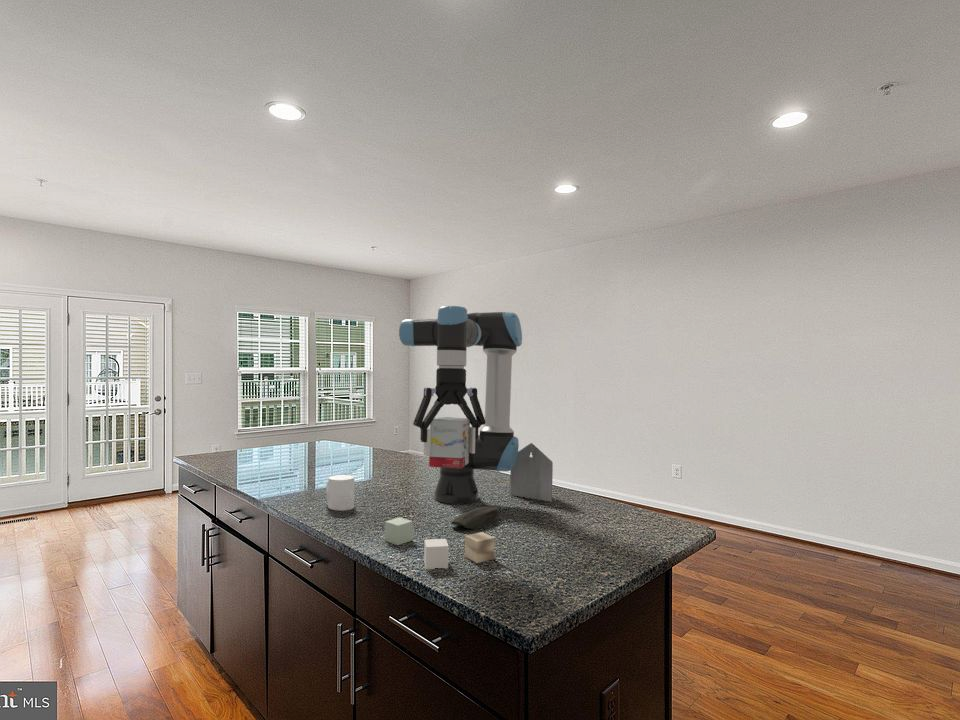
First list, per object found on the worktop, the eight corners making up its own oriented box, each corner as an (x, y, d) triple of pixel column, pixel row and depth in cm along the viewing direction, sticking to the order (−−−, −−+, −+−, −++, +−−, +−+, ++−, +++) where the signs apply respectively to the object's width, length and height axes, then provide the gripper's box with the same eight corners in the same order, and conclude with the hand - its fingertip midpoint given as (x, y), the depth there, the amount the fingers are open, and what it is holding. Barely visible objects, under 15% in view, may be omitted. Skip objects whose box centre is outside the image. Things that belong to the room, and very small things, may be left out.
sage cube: (399, 536, 134) (399, 517, 134) (412, 540, 131) (412, 521, 131) (384, 541, 130) (385, 521, 131) (397, 545, 127) (398, 525, 127)
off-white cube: (445, 560, 118) (445, 538, 118) (448, 568, 113) (448, 546, 113) (423, 561, 117) (424, 539, 117) (425, 569, 112) (426, 547, 112)
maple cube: (481, 552, 123) (482, 532, 124) (494, 559, 119) (494, 537, 119) (464, 556, 120) (465, 535, 121) (476, 563, 116) (477, 541, 117)
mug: (361, 477, 162) (339, 481, 156) (360, 507, 162) (338, 512, 155) (339, 472, 170) (317, 475, 163) (338, 500, 169) (317, 505, 163)
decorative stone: (465, 534, 138) (465, 518, 138) (448, 529, 142) (448, 514, 142) (504, 520, 151) (504, 506, 151) (487, 516, 155) (487, 502, 155)
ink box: (461, 469, 123) (462, 420, 123) (428, 467, 124) (429, 418, 125) (469, 462, 131) (470, 417, 131) (437, 461, 133) (438, 415, 133)
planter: (560, 497, 179) (561, 442, 180) (551, 502, 173) (552, 445, 173) (520, 491, 188) (520, 438, 188) (509, 495, 181) (510, 441, 182)
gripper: (486, 368, 137) (485, 449, 136) (401, 366, 126) (399, 454, 126) (499, 368, 130) (498, 453, 130) (411, 366, 120) (409, 459, 119)
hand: (449, 454), depth 128 cm, fingers closed on ink box, 11 cm apart
